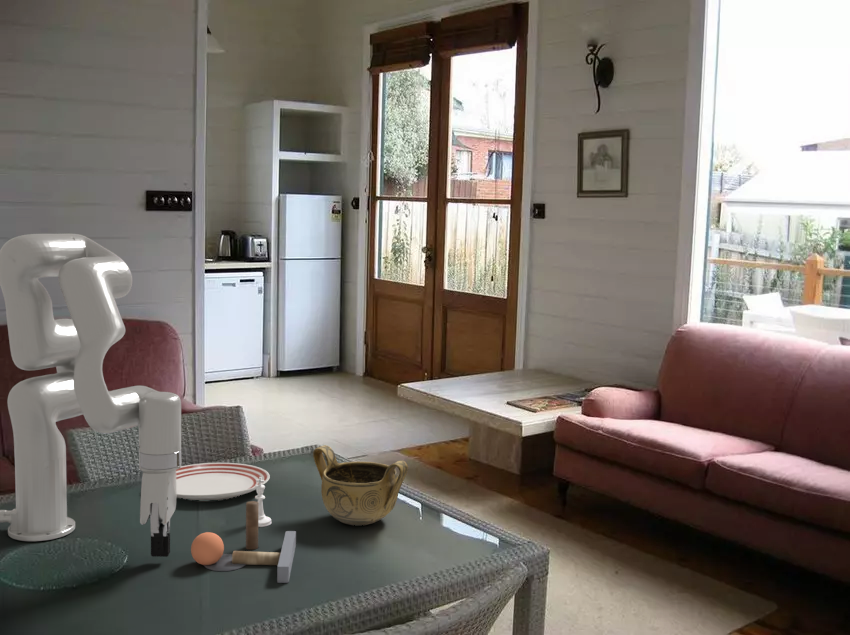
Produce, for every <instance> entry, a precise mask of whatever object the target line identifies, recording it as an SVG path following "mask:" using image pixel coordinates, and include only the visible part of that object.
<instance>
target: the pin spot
mask: <svg viewBox="0 0 850 635" xmlns="http://www.w3.org/2000/svg"><path fill="white" fill-rule="evenodd" d="M232 555H233V553H223V555H222V556H221V558H220V559H219V560H218V561H217V562H216V563H214V564H211V565H203V567H204V568H206V569H208V570H210V571H213V572H230V571H231V572H232V571H237V570H239V569H242V568H244V567H245V566H247V564H232Z"/></svg>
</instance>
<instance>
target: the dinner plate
mask: <svg viewBox="0 0 850 635" xmlns="http://www.w3.org/2000/svg"><path fill="white" fill-rule="evenodd" d="M270 476H271V475H270V473H269V472H268V471H267V470H266V469H264V468H261V467H258V466H256V465H251V464H245V463H236V462H235V463H234V462H204V463H203V462H202V463H193V464H186V465H181V468H179V469H177V470H176V483H177V499H181V498H183V499H182V500H186V499H190V500H189V501H192V500H218V501H224V500H223V499H226V500H230V499H229V498H231V499H234V498H233V497H235V498H238V497H241V496H243V495H245V494H248V493H251V492H254V491H256V488H255V486H256V485H259V482H256V480H259V477H262V480H264V483H262V485H264V486H265V484H266V483H268V481H269V480H270V478H271V477H270ZM240 495H241V496H240ZM237 496H238V497H237Z"/></svg>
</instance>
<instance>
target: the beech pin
mask: <svg viewBox="0 0 850 635" xmlns="http://www.w3.org/2000/svg"><path fill="white" fill-rule="evenodd" d="M232 554H233V555H232V564H246V565H250V566H251V565H254V566H255V565H256V566H278V562H279V558H280V554H281V552H273V551H270V552H269V551H254V550H253V551H251V550H248V551H247V550H246V551H245V550H233V552H232Z"/></svg>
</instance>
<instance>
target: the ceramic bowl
mask: <svg viewBox="0 0 850 635" xmlns="http://www.w3.org/2000/svg"><path fill="white" fill-rule="evenodd" d="M312 458H313V460H314V463H315V466H316V469H317V471H318V474H319V477H320V480H321V498H322V501H323V505H324V507H325V509H326V510H327V512H328V513H329V514H330V515H331V516H332V517H333V518H334V519H335V520H337V521H339V522H341V523H343V524H346V525H350V526H354V525H355V526H357V527H359V526H360V527H361V526H362V525H363V526H367V525H371V524H374V523H376V522H378V521H380V520H382V519H384V518H385V517H386V516H387V515H388V514H390V513H391V511H392V510H393V509H394V508H395V506H396V504H397V502H398V497H399V493H400V490H401V487H402V485H403V483H404V480H405V478H406V476H407V474H408V471H409V465H408V464H407V462H406V461H405V460H402V459H400V460H397V461H396V462H394V463H392V464H384V463H380V462H375V461H345V462H340V463H339V462H338V461H337V456H336V454H335V452H334V450H333V448H332V447H331V446H329V445H327V444H323V445H321V446H318V447H316V448H315V449H313V451H312ZM396 468H397V469H398V470H399V474H398V470H397V469H396Z"/></svg>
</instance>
